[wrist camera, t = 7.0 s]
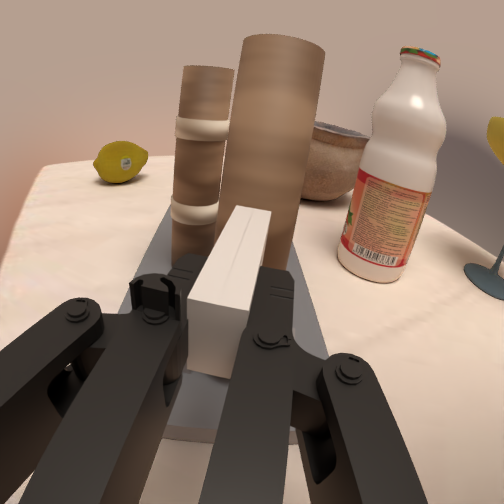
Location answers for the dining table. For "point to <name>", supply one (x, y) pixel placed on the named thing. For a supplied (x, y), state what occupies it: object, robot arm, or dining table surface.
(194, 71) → the banded post middle
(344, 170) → the ceramic bowl
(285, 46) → the plain post
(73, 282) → the dining table surface
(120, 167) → the lemon
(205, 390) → the board
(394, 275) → the fruit juice
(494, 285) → the cocktail glass
